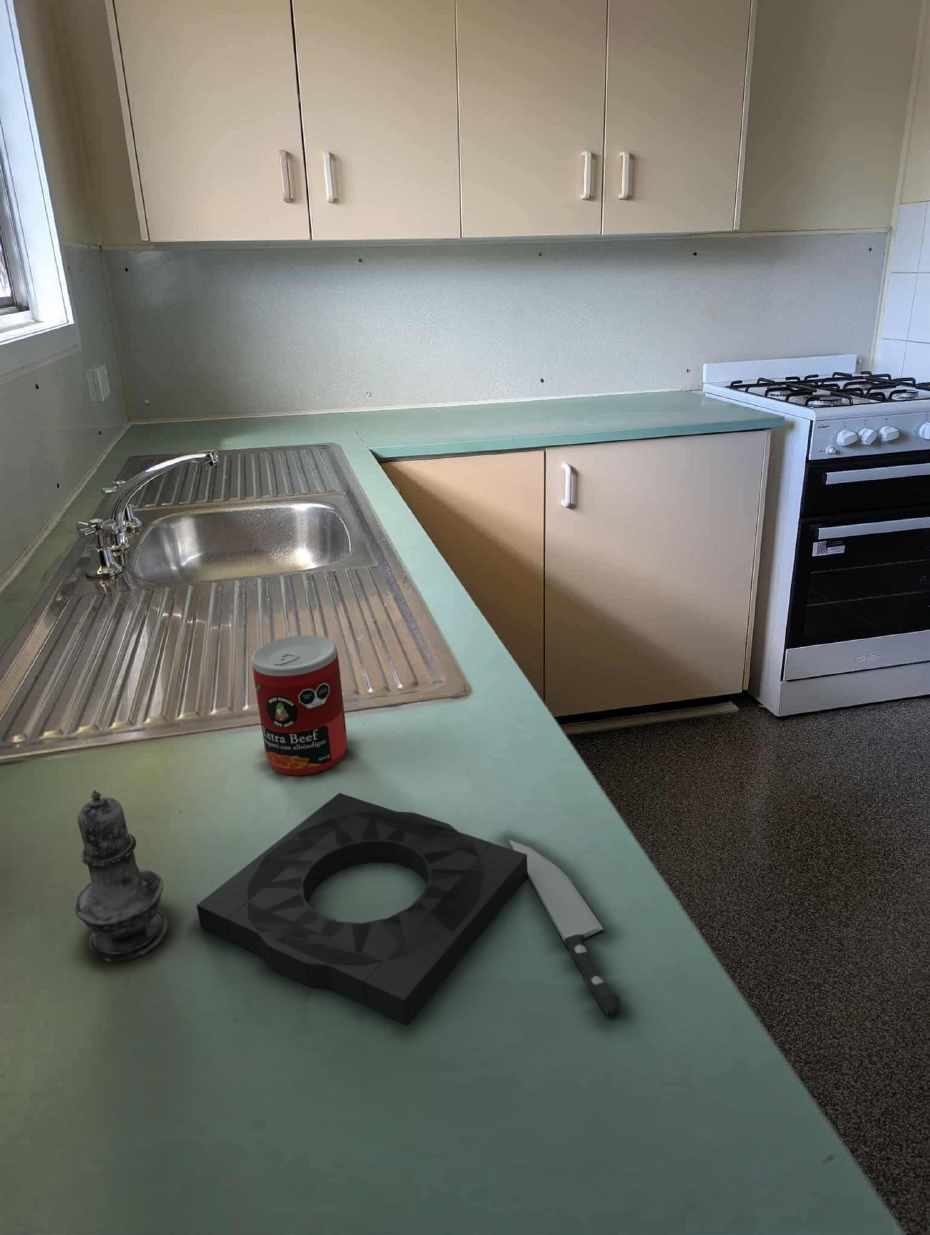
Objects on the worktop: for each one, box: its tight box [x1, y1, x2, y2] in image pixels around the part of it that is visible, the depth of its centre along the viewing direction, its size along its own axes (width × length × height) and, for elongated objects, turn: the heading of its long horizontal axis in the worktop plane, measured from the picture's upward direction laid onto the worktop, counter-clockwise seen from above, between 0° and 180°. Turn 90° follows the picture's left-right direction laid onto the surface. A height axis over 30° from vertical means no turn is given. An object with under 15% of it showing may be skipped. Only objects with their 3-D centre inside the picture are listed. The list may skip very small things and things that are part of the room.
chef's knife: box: [508, 839, 621, 1016], centre depth 62 cm, size 19×1×3 cm
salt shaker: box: [73, 789, 169, 963], centre depth 60 cm, size 6×6×12 cm
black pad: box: [196, 792, 528, 1025], centre depth 64 cm, size 18×17×2 cm
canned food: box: [251, 634, 348, 776], centre depth 82 cm, size 8×8×11 cm
